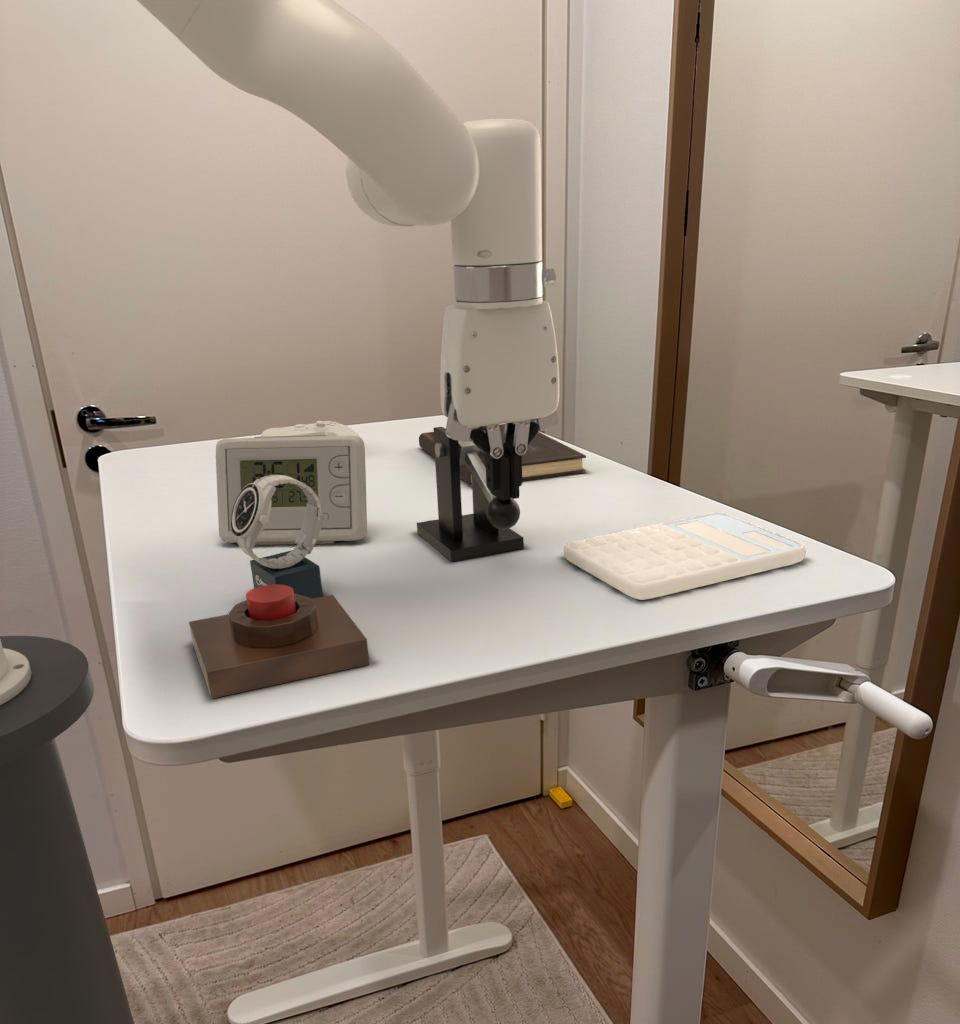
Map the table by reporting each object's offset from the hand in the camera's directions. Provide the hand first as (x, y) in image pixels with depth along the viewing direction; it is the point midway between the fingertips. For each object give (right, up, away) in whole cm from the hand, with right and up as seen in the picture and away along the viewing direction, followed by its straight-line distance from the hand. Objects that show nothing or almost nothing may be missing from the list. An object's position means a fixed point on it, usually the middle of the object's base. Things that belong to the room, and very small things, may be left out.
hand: (504, 495), depth 85 cm
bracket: (-4, -3, +11) cm, 12 cm away
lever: (-2, +1, +5) cm, 5 cm away
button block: (-18, -15, -13) cm, 27 cm away
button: (-18, -12, -14) cm, 26 cm away
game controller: (-27, +13, +47) cm, 56 cm away
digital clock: (-22, -3, +13) cm, 26 cm away
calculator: (+17, -6, +3) cm, 19 cm away
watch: (-20, -10, -1) cm, 22 cm away
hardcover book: (0, +11, +41) cm, 42 cm away
